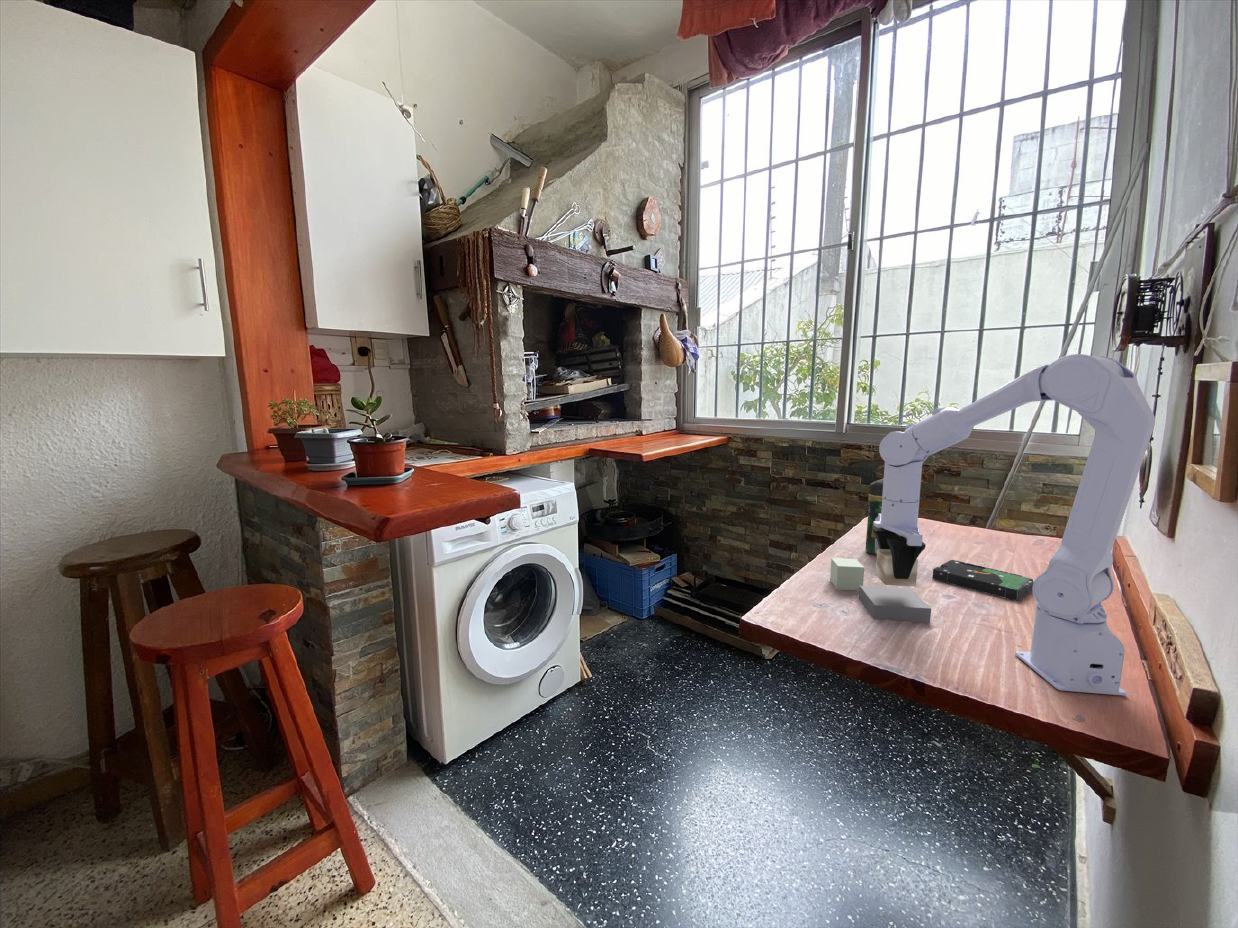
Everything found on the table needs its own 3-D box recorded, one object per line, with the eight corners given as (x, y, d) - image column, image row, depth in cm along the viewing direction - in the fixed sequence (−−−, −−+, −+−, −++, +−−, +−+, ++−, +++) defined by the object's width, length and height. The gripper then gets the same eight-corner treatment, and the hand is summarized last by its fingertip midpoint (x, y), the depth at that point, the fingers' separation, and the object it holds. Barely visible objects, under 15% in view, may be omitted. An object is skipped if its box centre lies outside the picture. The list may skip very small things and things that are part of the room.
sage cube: (862, 591, 98) (864, 567, 97) (836, 589, 99) (837, 566, 98) (855, 581, 103) (856, 558, 102) (830, 580, 104) (831, 557, 103)
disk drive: (931, 581, 104) (1018, 603, 92) (932, 569, 104) (1019, 589, 92) (949, 570, 110) (1033, 590, 99) (950, 558, 110) (1035, 576, 98)
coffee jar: (871, 544, 128) (876, 474, 125) (905, 550, 123) (911, 477, 120) (860, 553, 121) (865, 479, 118) (896, 560, 116) (902, 483, 113)
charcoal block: (929, 624, 84) (931, 608, 84) (873, 621, 86) (874, 605, 86) (909, 603, 93) (910, 588, 93) (858, 600, 95) (859, 585, 94)
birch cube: (915, 586, 86) (918, 559, 85) (885, 584, 87) (887, 557, 86) (904, 576, 91) (906, 550, 90) (875, 574, 92) (877, 548, 91)
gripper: (863, 490, 94) (858, 558, 96) (891, 507, 80) (886, 586, 82) (902, 491, 93) (897, 559, 95) (938, 509, 79) (931, 589, 81)
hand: (894, 572), depth 88 cm, fingers closed on birch cube, 5 cm apart
